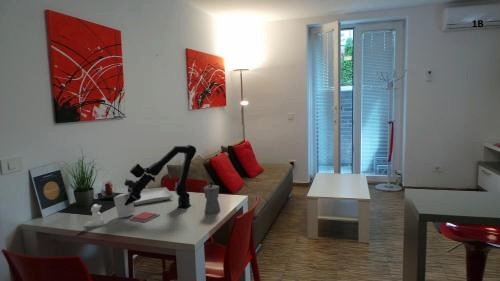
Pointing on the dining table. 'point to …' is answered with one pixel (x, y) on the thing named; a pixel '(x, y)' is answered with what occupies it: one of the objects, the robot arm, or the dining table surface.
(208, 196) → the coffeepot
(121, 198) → the supplement box
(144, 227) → the dining table surface
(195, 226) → the dining table surface
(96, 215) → the sitting furry creature
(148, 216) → the ink pad tray
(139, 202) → the square plate
